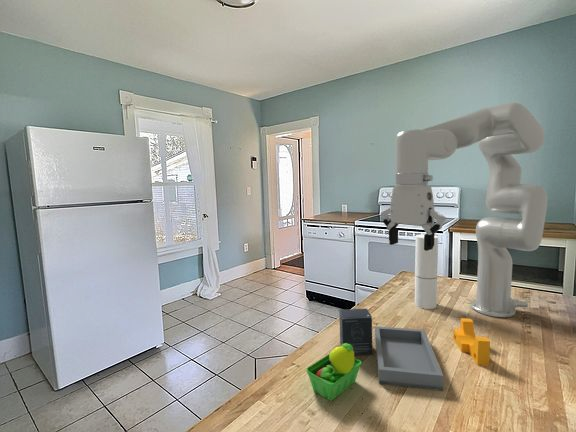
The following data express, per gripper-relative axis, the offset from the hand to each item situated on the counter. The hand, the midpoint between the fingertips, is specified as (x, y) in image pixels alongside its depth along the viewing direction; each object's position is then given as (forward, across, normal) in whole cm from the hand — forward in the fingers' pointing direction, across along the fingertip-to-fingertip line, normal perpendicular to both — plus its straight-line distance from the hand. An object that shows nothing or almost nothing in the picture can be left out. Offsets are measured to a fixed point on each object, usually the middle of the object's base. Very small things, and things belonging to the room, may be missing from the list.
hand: (410, 246), depth 80 cm
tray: (+28, -2, +6) cm, 29 cm away
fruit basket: (+29, +2, +26) cm, 39 cm away
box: (+28, +9, +11) cm, 32 cm away
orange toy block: (+28, -11, -10) cm, 32 cm away
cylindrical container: (+28, +11, -30) cm, 43 cm away
